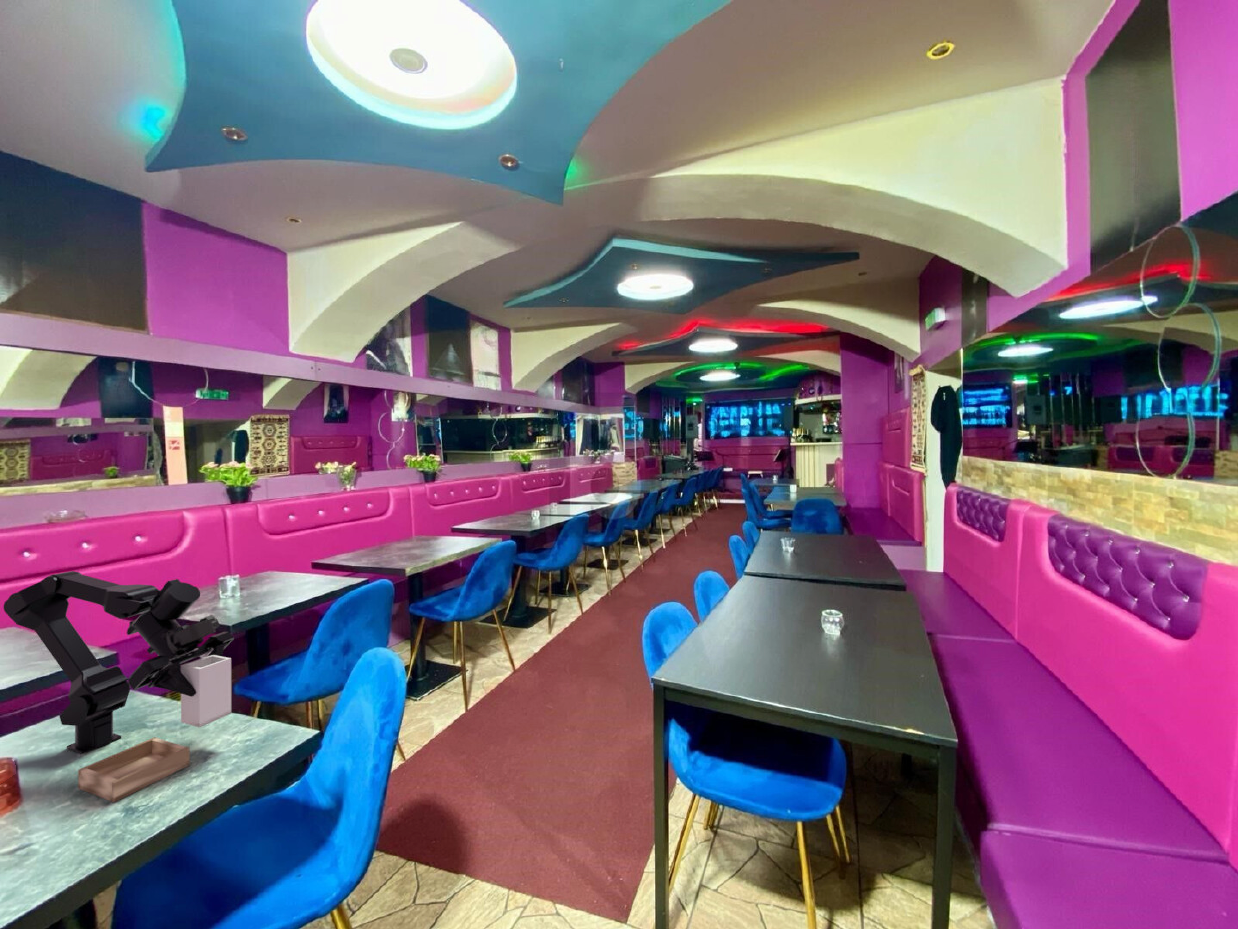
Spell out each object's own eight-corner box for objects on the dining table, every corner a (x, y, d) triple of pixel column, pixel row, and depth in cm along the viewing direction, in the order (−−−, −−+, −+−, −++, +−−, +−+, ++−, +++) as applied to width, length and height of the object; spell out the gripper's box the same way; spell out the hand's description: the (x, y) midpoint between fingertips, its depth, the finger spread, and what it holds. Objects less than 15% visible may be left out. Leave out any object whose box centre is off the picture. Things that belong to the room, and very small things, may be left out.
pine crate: (78, 788, 92) (78, 769, 92) (154, 754, 103) (154, 737, 103) (114, 802, 88) (114, 783, 88) (189, 765, 99) (189, 748, 99)
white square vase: (181, 722, 102) (181, 665, 102) (213, 709, 108) (213, 654, 108) (199, 727, 100) (199, 669, 100) (231, 713, 106) (231, 658, 106)
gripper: (140, 622, 95) (192, 680, 94) (226, 596, 114) (270, 645, 113) (105, 660, 96) (155, 719, 95) (196, 629, 115) (239, 677, 114)
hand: (210, 687), depth 104 cm, fingers closed on white square vase, 7 cm apart
